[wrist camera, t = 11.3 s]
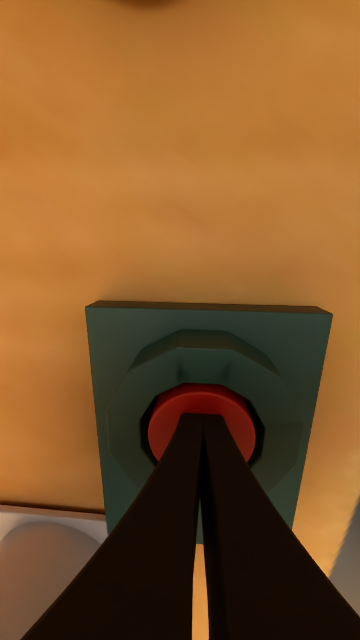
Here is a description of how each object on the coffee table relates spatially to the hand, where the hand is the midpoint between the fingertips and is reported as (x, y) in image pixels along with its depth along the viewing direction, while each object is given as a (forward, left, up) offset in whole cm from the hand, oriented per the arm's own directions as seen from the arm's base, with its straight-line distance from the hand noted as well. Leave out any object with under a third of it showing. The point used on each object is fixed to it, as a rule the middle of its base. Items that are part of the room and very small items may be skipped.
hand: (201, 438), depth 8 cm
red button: (0, 0, -2) cm, 2 cm away
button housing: (-2, 0, -3) cm, 4 cm away
